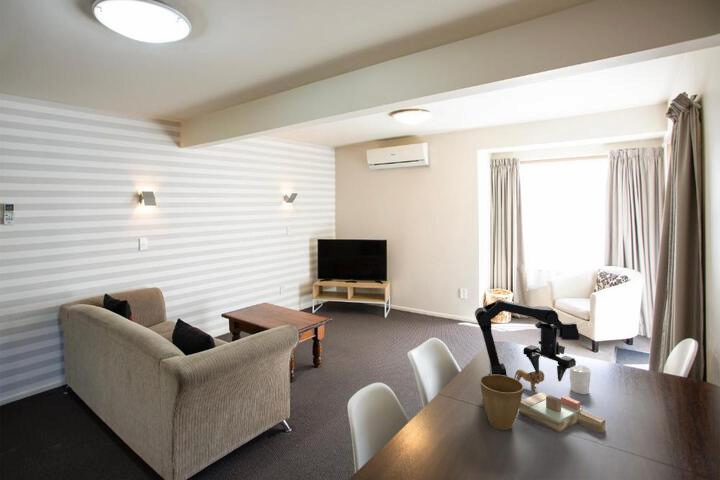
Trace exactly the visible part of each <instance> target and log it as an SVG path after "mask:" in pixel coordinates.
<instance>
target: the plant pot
mask: <svg viewBox="0 0 720 480" xmlns="http://www.w3.org/2000/svg"><path fill="white" fill-rule="evenodd" d="M479 384H480V390H481V391H480V392H481V395H482V396H481V397H482V399H483V400H482V401H483V405H484V410H485V413H486V415H487V418H488V422H489V423H490V426H492V427H493V428H495V429H496V428H497V430H499V429H500V431H508V429H509V430H511V428H512V427H513V424H514V423H515V420H516V419H517V415H518V412H519V406H520V402H521V401H522V398H523V392H524V384H523V383H522V382H521V381H520V382H519V381H518V380H516V378H515V379H514V377H511V376H508V375H507V376H504V375H488V374H487V375H484V376H481V378H480V379H479Z"/></svg>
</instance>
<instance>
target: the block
mask: <svg viewBox="0 0 720 480" xmlns="http://www.w3.org/2000/svg"><path fill="white" fill-rule="evenodd" d="M560 399H561V403H562V404H564V405H567V406H569V407H571V408H574V409H576V410H578V409H580V408H581V402H580V401H579V400H576V399H574V398H571V397H569V396H566V395H563V396H561V397H560Z"/></svg>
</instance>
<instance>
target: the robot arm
mask: <svg viewBox="0 0 720 480" xmlns="http://www.w3.org/2000/svg"><path fill="white" fill-rule="evenodd" d="M502 312H505V313H506V312H507V313H511V314H516V315H521V316H525V317H529V318H533V319H534V320H535V319H536V320H537V321H538V322H536V324H534V326H535V327H536V328H537V329H540V340H538V344H539V345H540V347H539V346H535V345H533V344H531V345H528V346H525V347H524V348H523V350H522V351H523V355H525V356H526V357H527V358H528V360H529V361H530V364H531V365H532V367H533V369H534V371H536V373H539V370H540V358H541V357H543V358H545V359H547V360H548V359H549V360H551V361H555V362H557V366H556V371H557V373H556V374H557V381H558V382H561V381H562V379H563V377H564V374H565V372H566V370H570V368H571V367H573V366H576V365H577V361H576V358H574V357H572V356H569V355H564V354H565V349H566V346H563V345H560V344H559V341H557V337H558V338H560V339H561V341H575V342H576V341H577V342H578V341H580V333H579V329H578V324H577V323H576V322H562V321H560V318H559V314H558V312H556V310H555V309H553V308H552V307H550V306H541V305H538V306H529V305H526V304H521V303H518V302H517V303H515V302H511V301H508V300H507V301H506V300H502V299H496V300H495V301H494V302H491V303H489V304H486V305H485V306H482V307H477V309H475V311H474V317H475V319H476V322H477V323H478V326H479V329H480V330H481V332H482V337H483V341H484V345H485V348H486V353H487V356H488V357H487V358H488V359H489V373H488V374H487V375H504V376H508V374H507V368H506V367H505V364H504V362H502V363H500V360H499V356H498V352H497V348H496V344H495V340H494V335H493V333H492V320H493V319H495V318H496V317H497V316H498V315H499V314H500V313H502ZM559 355H563V356H559ZM482 401H483V398H482Z"/></svg>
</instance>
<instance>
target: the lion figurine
mask: <svg viewBox="0 0 720 480" xmlns="http://www.w3.org/2000/svg"><path fill="white" fill-rule="evenodd" d="M513 378H514V379H516V380H518V381H519V382H521V381H520V380H521V379H523V380H524V381H526V382H527V383H528V382H529V383H530V389H531V391H532V392H533V391H536V389H537V386H535V385H539V384H540V383H542V382H543V381H544V380H545V373H544V371H543V370H542V369H541V370H540V369H539V373H536V371H535V370H534V371H530V372H526V371H524V370H523V369H517V370H516V371H515V375H514V377H513Z"/></svg>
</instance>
